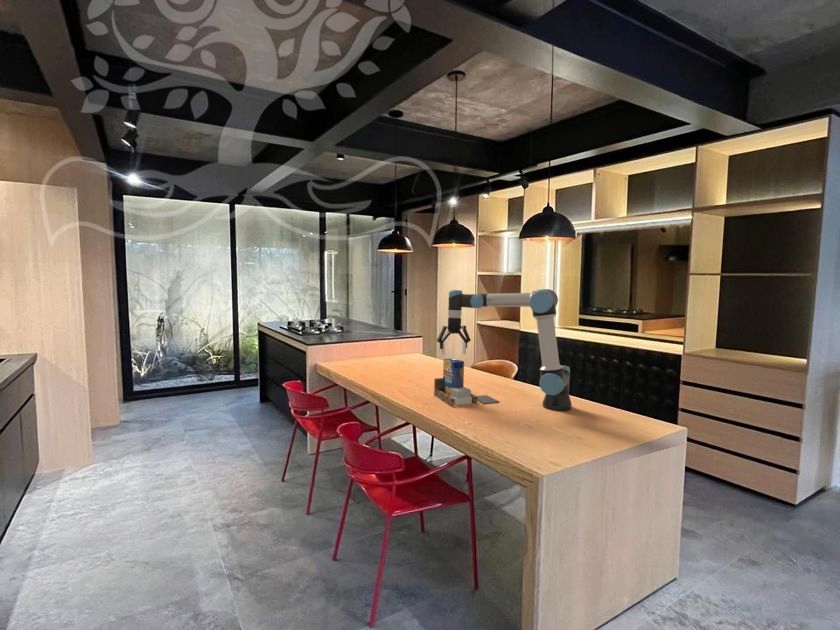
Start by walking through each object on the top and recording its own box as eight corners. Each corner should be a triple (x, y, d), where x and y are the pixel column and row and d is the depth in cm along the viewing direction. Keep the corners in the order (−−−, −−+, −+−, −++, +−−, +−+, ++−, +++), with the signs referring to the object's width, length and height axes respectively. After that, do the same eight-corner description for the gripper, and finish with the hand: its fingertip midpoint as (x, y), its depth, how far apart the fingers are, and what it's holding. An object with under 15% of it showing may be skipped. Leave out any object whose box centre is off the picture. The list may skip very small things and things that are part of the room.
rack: (477, 403, 252) (477, 386, 251) (451, 406, 246) (451, 388, 245) (458, 393, 274) (459, 376, 273) (434, 395, 268) (434, 378, 267)
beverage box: (452, 394, 269) (453, 358, 267) (463, 399, 260) (464, 361, 258) (442, 396, 266) (443, 359, 264) (453, 401, 256) (454, 362, 254)
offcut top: (470, 396, 253) (470, 389, 252) (457, 398, 248) (457, 391, 248) (464, 394, 258) (464, 387, 257) (451, 396, 253) (451, 388, 253)
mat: (499, 402, 255) (499, 401, 255) (483, 404, 252) (483, 402, 251) (486, 396, 268) (486, 395, 268) (471, 397, 264) (471, 396, 264)
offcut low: (471, 404, 252) (471, 397, 252) (455, 405, 248) (455, 398, 248) (465, 400, 258) (465, 394, 258) (449, 402, 255) (450, 395, 254)
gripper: (471, 316, 267) (469, 352, 269) (431, 316, 258) (430, 353, 260) (477, 317, 260) (475, 354, 262) (437, 318, 251) (435, 356, 253)
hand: (453, 354), depth 261 cm, fingers open, 13 cm apart
